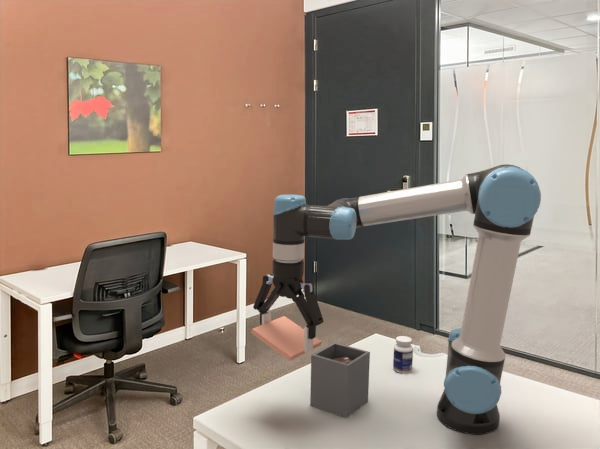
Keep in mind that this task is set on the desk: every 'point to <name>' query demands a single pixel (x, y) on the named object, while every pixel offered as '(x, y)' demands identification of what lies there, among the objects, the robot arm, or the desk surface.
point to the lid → (283, 337)
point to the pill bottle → (403, 355)
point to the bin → (339, 379)
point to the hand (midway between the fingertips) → (286, 344)
